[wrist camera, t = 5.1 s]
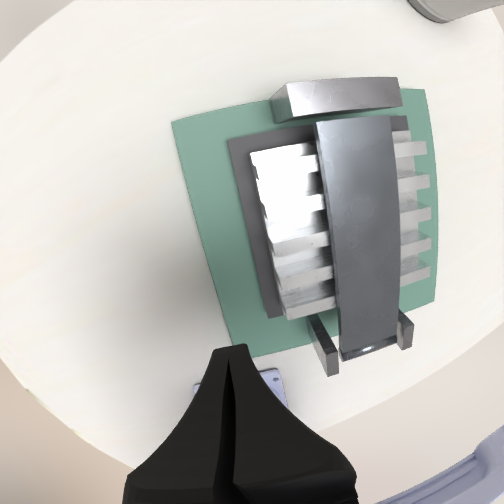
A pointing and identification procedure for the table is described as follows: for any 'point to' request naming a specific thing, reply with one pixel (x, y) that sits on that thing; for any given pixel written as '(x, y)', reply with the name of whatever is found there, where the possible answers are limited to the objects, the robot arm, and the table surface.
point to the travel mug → (452, 8)
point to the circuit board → (250, 218)
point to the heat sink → (314, 204)
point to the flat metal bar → (362, 229)
